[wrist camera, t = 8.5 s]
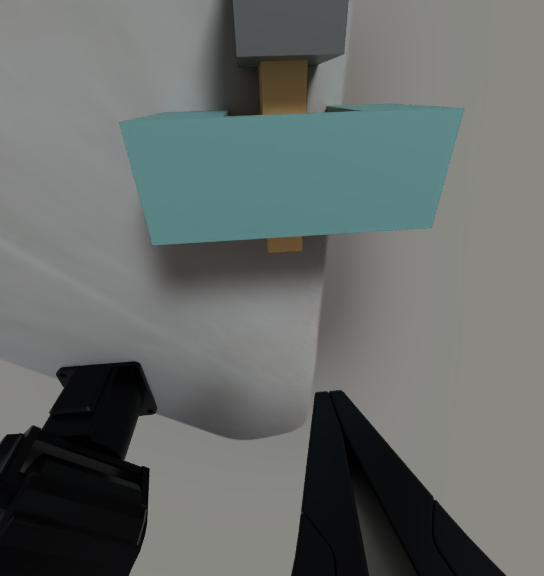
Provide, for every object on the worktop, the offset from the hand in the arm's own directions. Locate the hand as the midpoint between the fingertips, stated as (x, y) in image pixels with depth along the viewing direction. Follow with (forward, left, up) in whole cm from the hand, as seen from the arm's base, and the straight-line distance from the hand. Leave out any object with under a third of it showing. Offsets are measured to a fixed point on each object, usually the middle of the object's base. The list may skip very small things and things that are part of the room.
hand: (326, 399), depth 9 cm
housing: (+5, 0, -13) cm, 14 cm away
